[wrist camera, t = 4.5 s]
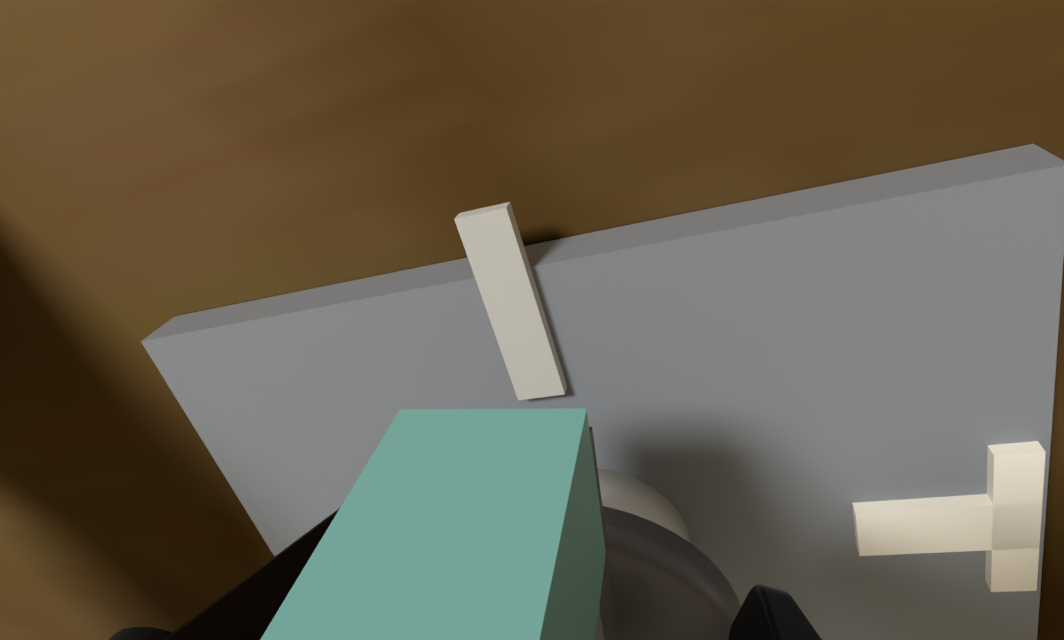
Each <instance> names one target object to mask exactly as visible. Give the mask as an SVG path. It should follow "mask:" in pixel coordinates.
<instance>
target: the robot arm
mask: <svg viewBox="0 0 1064 640" xmlns="http://www.w3.org/2000/svg"><path fill="white" fill-rule="evenodd" d="M339 509H340V508H339ZM339 509H338V510H336V511H335V512H334V513H332V514H331V515H330V516H328V517H327V518H325V519H324V520H323V521H321V522H320V523H319V524H317V525H316V526H315V527H313V528H312V529H311V530H309V531H308V532H307V533H305V534H304V535H303V536H301V537H300V538H299V539H297V540H296V541H295V542H293V543H292V544H291V545H289V546H288V547H287V548H285V549H284V550H283V551H281V552H280V553H279V554H277V555H276V556H275V557H273V558H272V559H271V560H269V561H268V562H267V563H265V564H264V565H263V566H261V567H260V568H259V569H257V570H256V571H255V572H253V573H252V574H251V575H249V576H248V577H247V578H245V579H244V580H243V581H241V582H240V583H239V584H237V585H236V586H235V587H233V588H232V589H231V590H229V591H228V592H227V593H225V594H224V595H223V596H221V597H220V598H219V599H217V600H216V601H215V602H213V603H212V604H211V605H209V606H208V607H207V608H205V609H204V610H202V611H201V612H200V613H198V614H197V615H196V616H194V617H193V618H192V619H190V620H189V621H188V622H186V623H185V624H184V625H182V626H181V627H180V628H178V629H177V630H176V631H174V632H173V633H172V634H170V635H169V636H168V637H166V638H165V639H164V640H260V639H261V638H262V636H263V634H264V633H265V631H266V629H267V628H268V626H269V624H270V623H271V621H272V620H273V618H274V616H275V615H276V613H277V611H278V610H279V608H280V606H281V605H282V603H283V601H284V600H285V598H286V596H287V595H288V593H289V591H290V590H291V588H292V587H293V585H294V583H295V582H296V580H297V578H298V577H299V575H300V573H301V572H302V570H303V568H304V567H305V565H306V563H307V562H308V560H309V559H310V557H311V555H312V554H313V552H314V550H315V549H316V547H317V545H318V544H319V542H320V540H321V539H322V537H323V535H324V534H325V532H326V530H327V529H328V527H329V526H330V524H331V522H332V521H333V519H334V517H335V516H336V514H337V512H338V511H339ZM728 640H823V639H822V638H821V637H820V635H819V634H818V632H817V631H816V629H815V628H814V627H813V625H812V624H811V622H810V621H809V619H808V618H807V616H806V615H805V614H804V612H803V611H802V609H801V608H800V606H799V605H798V604H797V602H796V601H795V599H794V598H793V597H792V596H791V595H790V594H789V593H788V592H786V591H784V590H780V589H776V588H772V587H769V586H765V585H761V584H758V585H755V586H753V587H752V588H751V590H750V591H749V593H748V595H747V597H746V599H745V600H744V602H743V604H742V606H741V608H740V610H739V611H738V613H737V615H736V617H735V619H734V621H733V623H732V625H731V628H730V632H729V637H728Z"/></svg>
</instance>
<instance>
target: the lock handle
mask: <svg viewBox="0 0 1064 640" xmlns="http://www.w3.org/2000/svg"><path fill="white" fill-rule="evenodd" d="M740 608H741V606H740V603H739V600H738V598H737V596H736V594H735V592H734V590H733V588H732V586H731V584H730V583H729V581H728V580H727V579H726V577H725V576H724V575H723V573H722V572H721V570H720V569H719V568H718V567H717V566H716V565H715V564H714V563H713V562H712V561H711V560H710V559H709V558H708V557H707V556H706V555H705V554H703V553H702V552H701V551H700V550H699V549H697V548H696V547H695V546H694V545H692V544H691V543H690V542H688V541H687V540H685V539H683V538H682V537H680V536H679V535H677V534H676V533H674V532H672V531H670V530H668V529H666V528H664V527H662V526H660V525H658V524H656V523H654V522H652V521H650V520H647V519H644V518H642V517H639V516H637V515H634V514H631V513H628V512H624V511H621V510H617V509H614V508H610V507H605V506H602V499H601V491H600V483H599V476H598V468H597V460H596V453H595V445H594V437H593V430H592V427H589V422H588V415H587V408H564V409H400V410H399V412H398V413H397V415H396V417H395V418H394V420H393V422H392V423H391V425H390V427H389V428H388V430H387V432H386V433H385V435H384V436H383V438H382V440H381V441H380V443H379V445H378V446H377V448H376V450H375V451H374V453H373V455H372V456H371V458H370V460H369V461H368V463H367V464H366V466H365V468H364V469H363V471H362V473H361V474H360V476H359V478H358V479H357V481H356V483H355V484H354V486H353V488H352V489H351V491H350V493H349V494H348V496H347V497H346V499H345V501H344V502H343V504H342V506H341V507H340V509H339V511H338V512H337V514H336V516H335V517H334V519H333V521H332V522H331V524H330V526H329V527H328V529H327V530H326V532H325V534H324V535H323V537H322V539H321V540H320V542H319V544H318V545H317V547H316V549H315V550H314V552H313V554H312V555H311V557H310V559H309V560H308V562H307V563H306V565H305V567H304V568H303V570H302V572H301V573H300V575H299V577H298V578H297V580H296V582H295V583H294V585H293V587H292V588H291V590H290V591H289V593H288V595H287V596H286V598H285V600H284V601H283V603H282V605H281V606H280V608H279V610H278V611H277V613H276V615H275V616H274V618H273V620H272V621H271V623H270V624H269V626H268V628H267V629H266V631H265V633H264V634H263V636H262V638H261V639H260V640H728V637H729V632H730V628H731V625H732V623H733V621H734V619H735V617H736V615H737V613H738V611H739V610H740Z"/></svg>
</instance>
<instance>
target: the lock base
mask: <svg viewBox="0 0 1064 640" xmlns="http://www.w3.org/2000/svg"><path fill="white" fill-rule="evenodd" d="M454 220H455V223H456V225H457V228H458V231H459V234H460V237H461V240H462V242H463V245H464V248H465V251H466V254H467V257H468V258H463V259H458V260H453V261H448V262H443V263H438V264H433V265H428V266H423V267H418V268H413V269H408V270H403V271H398V272H393V273H388V274H383V275H378V276H374V277H369V278H364V279H359V280H354V281H349V282H344V283H339V284H334V285H329V286H324V287H319V288H314V289H309V290H304V291H299V292H294V293H289V294H284V295H279V296H274V297H269V298H264V299H259V300H254V301H249V302H244V303H239V304H234V305H230V306H225V307H220V308H215V309H210V310H205V311H200V312H195V313H190V314H185V315H180V316H175V317H174V318H172V319H171V320H169V321H168V322H167V323H165V324H164V325H163V326H161V327H160V328H159V329H157V330H156V331H154V332H153V333H152V334H150V335H149V336H148V337H146V338H145V339H144V340H142V341H141V343H142V344H143V346H144V347H145V349H146V351H147V352H148V354H149V356H150V357H151V359H152V360H153V362H154V364H155V365H156V367H157V368H158V370H159V372H160V373H161V375H162V376H163V378H164V380H165V381H166V383H167V384H168V386H169V388H170V389H171V391H172V393H173V394H174V396H175V397H176V399H177V401H178V402H179V404H180V405H181V407H182V409H183V410H184V412H185V413H186V415H187V417H188V418H189V420H190V421H191V423H192V425H193V426H194V428H195V430H196V431H197V433H198V434H199V436H200V438H201V439H202V441H203V442H204V444H205V446H206V447H207V449H208V450H209V452H210V454H211V455H212V457H213V458H214V460H215V462H216V463H217V465H218V467H219V468H220V470H221V471H222V473H223V475H224V476H225V478H226V479H227V481H228V483H229V484H230V486H231V487H232V489H233V491H234V492H235V494H236V495H237V497H238V499H239V500H240V502H241V504H242V505H243V507H244V508H245V510H246V512H247V513H248V515H249V516H250V518H251V520H252V521H253V523H254V524H255V526H256V528H257V529H258V531H259V532H260V534H261V536H262V537H263V539H264V541H265V542H266V544H267V545H268V547H269V549H270V550H271V552H272V553H273V555H274V557H275V556H276V555H277V554H279V553H280V552H281V551H283V550H284V549H285V548H287V547H288V546H289V545H291V544H292V543H293V542H295V541H296V540H297V539H299V538H300V537H301V536H303V535H304V534H305V533H307V532H308V531H309V530H311V529H312V528H313V527H315V526H316V525H317V524H319V523H320V522H321V521H323V520H324V519H325V518H327V517H328V516H330V515H331V514H332V513H334V512H335V511H336V510H338V509H339V508H340V507H341V506H342V504H343V502H344V501H345V499H346V497H347V496H348V494H349V493H350V491H351V489H352V488H353V486H354V484H355V483H356V481H357V479H358V478H359V476H360V474H361V473H362V471H363V469H364V468H365V466H366V464H367V463H368V461H369V460H370V458H371V456H372V455H373V453H374V451H375V450H376V448H377V446H378V445H379V443H380V441H381V440H382V438H383V436H384V435H385V433H386V432H387V430H388V428H389V427H390V425H391V423H392V422H393V420H394V418H395V417H396V415H397V413H398V412H399V410H400V409H564V408H587V415H588V422H589V427H592V430H593V437H594V445H595V453H596V460H597V468H598V476H599V483H600V491H601V499H602V506H605V507H610V508H614V509H617V510H621V511H624V512H628V513H631V514H634V515H637V516H639V517H642V518H644V519H647V520H650V521H652V522H654V523H656V524H658V525H660V526H662V527H664V528H666V529H668V530H670V531H672V532H674V533H676V534H677V535H679V536H680V537H682V538H683V539H685V540H687V541H688V542H690V543H691V544H692V545H694V546H695V547H696V548H697V549H699V550H700V551H701V552H702V553H703V554H705V555H706V556H707V557H708V558H709V559H710V560H711V561H712V562H713V563H714V564H715V565H716V566H717V567H718V568H719V569H720V570H721V572H722V573H723V575H724V576H725V577H726V579H727V580H728V581H729V583H730V584H731V586H732V588H733V590H734V592H735V594H736V596H737V598H738V600H739V603H740V606H742V604H743V602H744V600H745V599H746V597H747V595H748V593H749V591H750V590H751V588H752V587H753V586H755V585H758V584H761V585H765V586H769V587H772V588H776V589H780V590H784V591H786V592H788V593H789V594H790V595H791V596H792V597H793V598H794V599H795V601H796V602H797V604H798V605H799V606H800V608H801V609H802V611H803V612H804V614H805V615H806V616H807V618H808V619H809V621H810V622H811V624H812V625H813V627H814V628H815V629H816V631H817V632H818V634H819V635H820V637H821V638H822V639H823V640H1037V633H1038V619H1039V604H1040V590H1041V575H1042V561H1043V546H1044V532H1045V517H1046V503H1047V488H1048V474H1049V459H1050V445H1051V430H1052V416H1053V402H1054V387H1055V373H1056V358H1057V344H1058V329H1059V315H1060V300H1061V286H1062V271H1063V257H1064V161H1063V160H1061V159H1060V158H1058V157H1056V156H1054V155H1052V154H1051V153H1049V152H1047V151H1045V150H1044V149H1042V148H1040V147H1038V146H1036V145H1035V144H1029V145H1024V146H1019V147H1014V148H1009V149H1004V150H999V151H994V152H989V153H984V154H979V155H974V156H969V157H964V158H959V159H954V160H949V161H944V162H940V163H935V164H930V165H925V166H920V167H915V168H910V169H905V170H900V171H895V172H890V173H885V174H880V175H875V176H870V177H865V178H860V179H855V180H850V181H845V182H840V183H835V184H830V185H825V186H820V187H815V188H810V189H805V190H800V191H796V192H791V193H786V194H781V195H776V196H771V197H766V198H761V199H756V200H751V201H746V202H741V203H736V204H731V205H726V206H721V207H716V208H711V209H706V210H701V211H696V212H691V213H686V214H681V215H676V216H671V217H666V218H661V219H657V220H652V221H647V222H642V223H637V224H632V225H627V226H622V227H617V228H612V229H607V230H602V231H597V232H592V233H587V234H582V235H577V236H572V237H567V238H562V239H557V240H552V241H547V242H542V243H537V244H532V245H527V246H524V245H523V242H522V239H521V236H520V232H519V229H518V226H517V223H516V219H515V216H514V213H513V210H512V207H511V203H510V202H507V203H503V204H498V205H494V206H489V207H485V208H480V209H476V210H471V211H467V212H463V213H459V214H458V215H457V216H456V218H455V219H454Z"/></svg>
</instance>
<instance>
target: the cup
mask: <svg viewBox="0 0 1064 640" xmlns="http://www.w3.org/2000/svg"><path fill="white" fill-rule="evenodd" d="M170 634H172V633H170V632H166V631H162V630H157V629H153V628H141V627H134V628H129V629H123V630H121V631H119V632H118V633H116V634H114V635H113V636H112V637H111V638H110V639H109V640H164V639H165V638H166V637H168V636H169V635H170Z"/></svg>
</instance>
